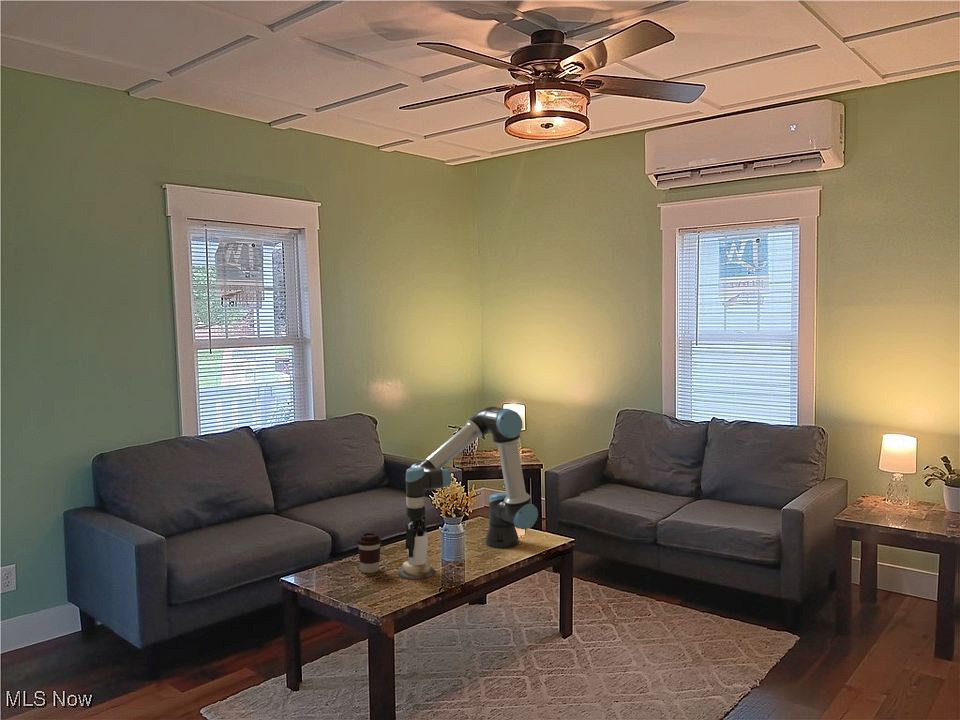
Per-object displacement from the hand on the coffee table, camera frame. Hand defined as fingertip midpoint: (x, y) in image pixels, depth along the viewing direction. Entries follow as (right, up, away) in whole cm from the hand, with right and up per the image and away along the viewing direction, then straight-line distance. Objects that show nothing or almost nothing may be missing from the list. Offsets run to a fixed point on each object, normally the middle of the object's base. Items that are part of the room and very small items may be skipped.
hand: (416, 560), depth 320 cm
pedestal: (0, -5, 0) cm, 5 cm away
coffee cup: (-20, -5, +4) cm, 21 cm away
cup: (0, -1, 0) cm, 1 cm away
